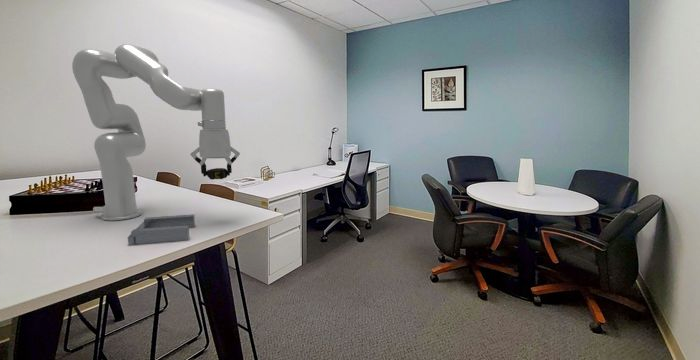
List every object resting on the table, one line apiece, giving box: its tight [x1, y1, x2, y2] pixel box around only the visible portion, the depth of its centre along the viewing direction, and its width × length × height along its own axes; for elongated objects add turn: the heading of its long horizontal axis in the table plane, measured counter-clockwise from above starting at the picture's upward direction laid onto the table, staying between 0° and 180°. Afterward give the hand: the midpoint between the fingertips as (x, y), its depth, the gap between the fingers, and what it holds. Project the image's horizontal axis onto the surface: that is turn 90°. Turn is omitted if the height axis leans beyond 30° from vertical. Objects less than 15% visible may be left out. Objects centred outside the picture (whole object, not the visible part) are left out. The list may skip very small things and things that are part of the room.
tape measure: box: [206, 167, 228, 180], centre depth 116 cm, size 7×7×4 cm
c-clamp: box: [127, 214, 196, 246], centre depth 106 cm, size 16×18×4 cm
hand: (216, 175), depth 116 cm, fingers closed on tape measure, 7 cm apart
